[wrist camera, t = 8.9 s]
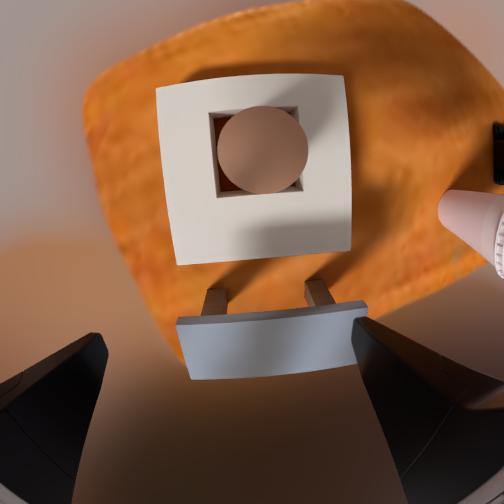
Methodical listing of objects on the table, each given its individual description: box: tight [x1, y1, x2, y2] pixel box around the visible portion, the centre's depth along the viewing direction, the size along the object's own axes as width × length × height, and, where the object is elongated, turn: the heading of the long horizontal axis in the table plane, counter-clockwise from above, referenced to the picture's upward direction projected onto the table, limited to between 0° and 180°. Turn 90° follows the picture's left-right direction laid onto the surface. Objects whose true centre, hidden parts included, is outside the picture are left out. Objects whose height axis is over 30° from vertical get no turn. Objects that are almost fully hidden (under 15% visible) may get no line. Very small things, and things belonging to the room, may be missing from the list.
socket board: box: [156, 74, 352, 265], centre depth 18 cm, size 12×12×3 cm
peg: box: [217, 106, 308, 194], centre depth 15 cm, size 4×4×8 cm
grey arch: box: [175, 280, 368, 379], centre depth 18 cm, size 10×4×9 cm, turn 95°
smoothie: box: [438, 190, 504, 278], centre depth 14 cm, size 6×6×14 cm
